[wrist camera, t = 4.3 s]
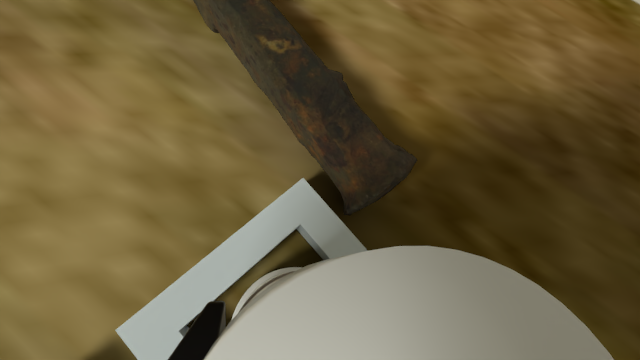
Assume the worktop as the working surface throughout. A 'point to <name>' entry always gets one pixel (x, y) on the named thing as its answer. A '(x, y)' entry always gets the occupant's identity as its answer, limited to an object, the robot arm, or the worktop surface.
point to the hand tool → (310, 100)
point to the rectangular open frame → (235, 268)
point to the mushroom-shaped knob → (403, 312)
